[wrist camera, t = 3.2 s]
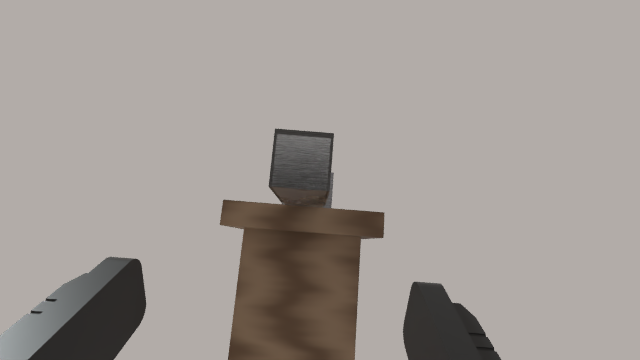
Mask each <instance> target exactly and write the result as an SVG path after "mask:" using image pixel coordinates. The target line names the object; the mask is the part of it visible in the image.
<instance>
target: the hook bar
mask: <svg viewBox="0 0 640 360" xmlns="http://www.w3.org/2000/svg"><path fill="white" fill-rule="evenodd" d="M333 138H334V134H333V133H322V132H310V131H297V130H285V129H275V135H274V144H273V152H272V163H271V171H270V180H269V187H270V189H271V190H272V191H273V192H274V194H275V195H276V196H277V197H278V198H279V200H280V201H281V202H282V205H295V206H307V207H320V208H331V203H332V188H333V174H334V173H331V164H332V151H333Z"/></svg>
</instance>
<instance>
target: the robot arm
mask: <svg viewBox="0 0 640 360" xmlns="http://www.w3.org/2000/svg"><path fill="white" fill-rule="evenodd" d="M145 309H146V298H145V290H144V283H143V274H142V266H141V263H140V261H139V260H138V259H131V258H118V257H109V258H106V259H105V260H104V261H102V262H101V263H100V264H99V265H98V266H97V267H95V268H94V269H93V270H92V271H91V272H89V273H85V274H83V275H81V276H79V277H77V278H75V279H73V280H71V281H69V282H68V283H65V284H63V285H62V286H61V287H60V288H59V289H57V290H56V291H55V292H54V293H52V294H51V295H50V296H49V297H47V298H46V301H45V302H44V301H43V302H41V303H40V304H39V305H38V306H36V307H35V308H34V309H32V310H31V313H30V314H26V315H25V316H24V317H23V318H21V319H20V320H19V321H18V322H16V323H15V324H14V325H13V326H11V327H10V328H9V329H8V330H6V331H5V332H4V333H3V334H1V335H0V360H114V358H115V357H116V356H117V354H118V353H119V352H120V350H121V349H122V347H123V346H124V345H125V344H126V342H127V341H128V340H129V338H130V337H131V335H132V334H133V333H134V332H135V330H136V329H137V327H138V326H139V325H140V323H141V321H142V319H143V316H144V313H145ZM403 337H404V344H405V349H406V352H407V356H408V360H501V359H500V357H499V355H498V354H497V352H495V351H494V347H493V345H492V344H491V342H490V340H489V339H488V337H486V335H485V332H484V330H483V329H482V327H481V326H480V324H479V322H478V321H477V319H476V318H475V317H474V316H473V315H472V314H471V313H470V312H469V311H468V310H467V309H466V308H464V307H463V306H462V305H461V304H459V303H452V302H451V300H450V298H449V297H448V295H447V293H446V291H445V289H444V287H443V286H442V285H441V284H437V283H425V282H414V283H413V284H412V287H411V291H410V296H409V301H408V305H407V311H406V315H405V320H404V327H403Z"/></svg>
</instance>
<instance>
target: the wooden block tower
mask: <svg viewBox="0 0 640 360" xmlns="http://www.w3.org/2000/svg"><path fill="white" fill-rule="evenodd" d="M220 225H224V226H229V227H235V228H240V229H244V234H243V243H242V250H241V258H240V267H239V274H238V282H237V290H236V299H235V308H234V315H233V324H232V332H231V340H230V348H229V356H228V360H354V359H355V339H356V319H357V301H358V281H359V262H360V243H361V239H369V238H383V234H384V213H383V212H370V211H357V210H345V209H332V208H320V207H307V206H295V205H282V204H269V203H256V202H244V201H231V200H223V206H222V213H221V220H220Z"/></svg>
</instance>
